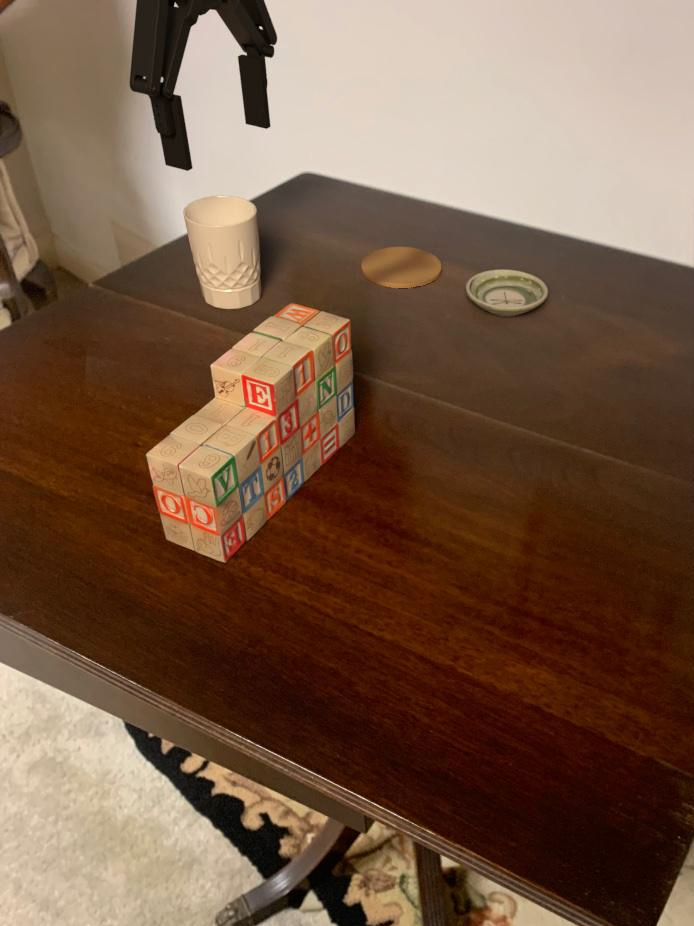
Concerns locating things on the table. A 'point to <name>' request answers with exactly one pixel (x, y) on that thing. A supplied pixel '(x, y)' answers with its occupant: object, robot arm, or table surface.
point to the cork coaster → (401, 267)
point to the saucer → (506, 291)
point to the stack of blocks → (257, 431)
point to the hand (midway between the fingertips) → (220, 145)
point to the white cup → (225, 250)
